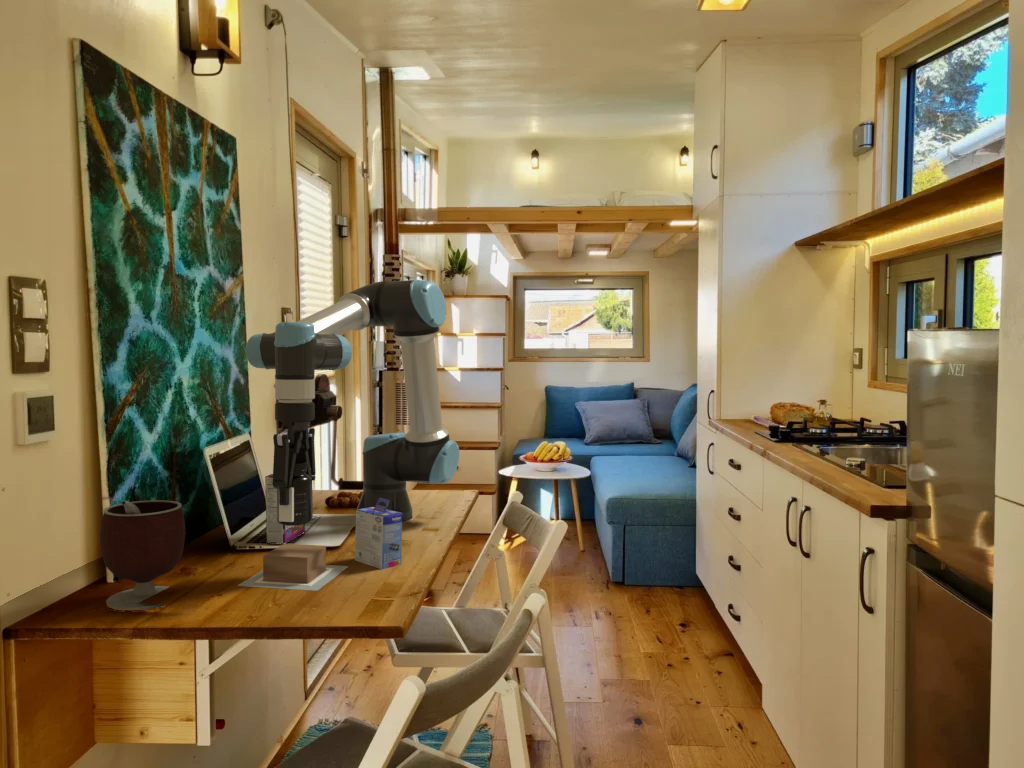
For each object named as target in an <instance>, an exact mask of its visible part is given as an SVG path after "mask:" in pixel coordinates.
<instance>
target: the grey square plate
mask: <svg viewBox="0 0 1024 768" xmlns="http://www.w3.org/2000/svg"><path fill="white" fill-rule="evenodd" d="M348 568H349V566H348V565H336V564H335V565H334V564H333V565H332V564H326V571H324V572H323V573H322V574H320V575H319V576H317V577H316V578H315V579H313V580H312V581H310V582H309V583H308V584H303V583H287V582H270V581H263V569H262V570H261V571H259V572H258V573H256V574H254V575H252V576H251V577H249V578H247V579H246V580H244V581H242V582H241V583H239V584H237V585H236V586H237V587H246V588H247V587H248V588H249V587H250V588H263V589H264V588H267V589H282V590H298V591H300V590H301V591H314V592H318V591H319V590H320V589H321V588H323V587H325V585H327V584H328V583H329V582H331V581H332V580H333V579H335V578H336V577H337V576H338V575H340V574H341V573H343V572H344V571H345V570H346V569H348Z"/></svg>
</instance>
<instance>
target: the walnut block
mask: <svg viewBox="0 0 1024 768" xmlns="http://www.w3.org/2000/svg"><path fill="white" fill-rule="evenodd" d="M262 559H263V560H262V563H263V564H262V570H263V581H270V582H287V583H303V584H308V583H309V582H310V581H312V580H313V579H315V578H316V577H317V576H319V575H320V574H322V573H323V572H324V571H326V565H327V545H315V544H314V545H313V544H299V543H298V544H297V543H296V544H295V543H294V544H293V543H287V544H283V545H282V544H280V546H278V547H276V548H274V549H272V550H271V551H268V552H267V553H265V554H263V555H262Z"/></svg>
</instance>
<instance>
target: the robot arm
mask: <svg viewBox="0 0 1024 768" xmlns="http://www.w3.org/2000/svg"><path fill="white" fill-rule="evenodd" d="M446 304H447V303H446V300H445V296H444V294H443V291H442V290H441V288H440V287H439V286H438V285H437V284H436V283H435V282H434V281H431V280H423V279H422V280H421V279H409V280H393V281H392V280H390V281H389V280H388V281H387V280H386V281H385V280H384V281H383V280H382V281H376V282H371V283H368V284H366V285H364V286H361V287H359V288H356V289H354V290H352V291H349V292H347V293H346V294H345V293H344V294H343V295H342V296H341V297H339V299H338V300H337V302H336V303H334V304H332V305H330V306H327V307H325V308H323V309H321V310H319V311H316V312H315V313H312V314H310V315H309V316H306V317H305V318H302V319H300V320H297V321H295V322H294V321H285V322H283V321H282V322H279V323H277V324H276V325H275V331H274V332H272V333H266V332H262V333H256V334H253V335H251V336H250V337H249V339H248V340H247V342H246V344H245V354H246V359H247V362H248V363H249V364H250V366H252V367H254V368H257V369H265V370H275V375H274V380H275V381H274V384H273V388H274V393H275V394H274V399H275V400H278V401H276V403H275V404H274V419H275V421H276V422H281V430H280V433H279V434H278V433H274V434H273V438H272V439H273V466H272V474H273V487H274V488H279V521H281V522H293V521H294V488H291V486H292V479H293V472H294V466H295V460H301V461H306V462H307V468H308V471H306V474H308V475H309V476H310V477H311V478H312V481H316V457H315V456H316V455H315V433H316V429H315V428H314V427H309V425H308V422H312V421H314V420H315V419H316V418H315V417H316V416H315V414H316V410H315V408H316V407H315V406H316V404H315V403H314V401H313V400H314V399H315V398H316V381H315V380H316V378H315V376H316V375H315V371H336V370H341V369H343V368H345V367H347V365H349V364H350V362H351V359H352V357H353V347H352V345H351V342H350V341H349V340H348V339H347V338H346V337H345V336H343V335H346V334H347V333H349V332H351V331H354V332H355V331H356V332H357V331H361V330H364V329H365V328H371V327H386V328H387V327H392V330H393V337H395V338H396V339H397V340H398V341H400V347H401V358H402V367H403V377H404V385H405V394H406V403H407V404H406V405H407V412H408V413H407V414H408V421H409V422H408V423H409V430H408V432H407V433H406V432H404V431H403V432H401V431H399V432H390V433H381V434H375V435H369V436H367V437H365V438H364V440H363V448H362V450H363V451H362V470H363V471H362V473H363V474H362V479H363V482H362V485H363V487H362V494H361V496H360V499H359V502H358V505H357V508H356V510H358V509H363V508H369V507H375V506H376V503H377V501H378V500H379V498H383V499H387V500H390V502H389V504H388V507H387V510H391V511H396V512H401V513H402V522H405V521H408V520H411V519H412V518H413V507H412V503H411V500H410V498H409V497H410V496H409V494H408V492H407V491H408V490H407V482H410V483H422V484H430V485H435V484H437V485H440V484H441V485H444V484H447V483H448V482H449V483H450V481H451V480H452V479H453V477H454V476H455V473H456V471H457V469H458V465H459V463H460V462H459V460H460V448H459V447H460V446H459V445H458V443H457V442H456V441H454V440H452V439H450V433H449V432H450V431H449V430H448V429H447V428H446V427H444V426H443V419H442V409H441V408H442V407H441V406H442V405H441V398H440V397H441V395H440V387H439V376H438V367H437V356H436V344H435V338H436V336H437V335H438V334H439V333H440V327H441V326H442V325H443V324H444V323H445V321H446V315H447V305H446ZM379 505H381V506H385V505H386V504H385V503H384V502H380V503H379ZM411 517H412V518H411Z"/></svg>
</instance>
